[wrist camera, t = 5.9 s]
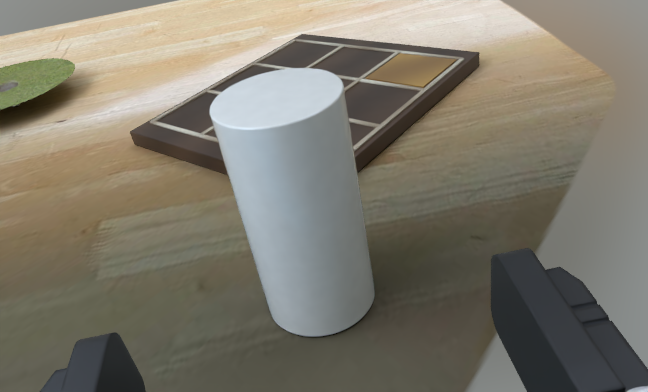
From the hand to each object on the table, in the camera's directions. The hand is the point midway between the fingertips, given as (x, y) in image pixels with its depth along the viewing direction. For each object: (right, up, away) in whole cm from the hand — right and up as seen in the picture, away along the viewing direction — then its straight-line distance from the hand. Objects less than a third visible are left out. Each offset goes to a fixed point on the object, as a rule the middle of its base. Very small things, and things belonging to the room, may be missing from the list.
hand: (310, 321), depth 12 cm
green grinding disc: (-26, +10, +36) cm, 45 cm away
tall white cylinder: (0, -1, +11) cm, 11 cm away
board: (-1, +9, +26) cm, 28 cm away
